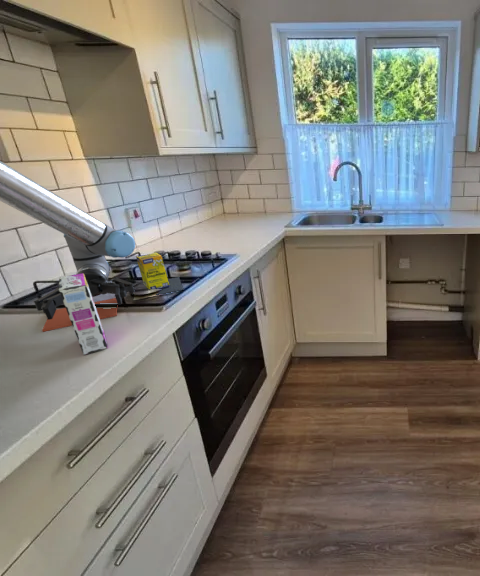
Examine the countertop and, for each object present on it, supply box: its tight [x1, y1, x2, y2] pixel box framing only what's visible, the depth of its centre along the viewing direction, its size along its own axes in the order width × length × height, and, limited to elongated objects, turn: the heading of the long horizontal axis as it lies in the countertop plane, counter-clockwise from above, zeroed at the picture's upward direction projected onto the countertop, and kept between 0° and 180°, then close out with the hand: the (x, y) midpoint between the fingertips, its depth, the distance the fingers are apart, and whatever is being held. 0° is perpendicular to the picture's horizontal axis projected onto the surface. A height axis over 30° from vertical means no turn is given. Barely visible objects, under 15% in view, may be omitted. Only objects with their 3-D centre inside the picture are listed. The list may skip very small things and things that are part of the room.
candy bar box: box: [58, 273, 109, 356], centre depth 85 cm, size 11×5×16 cm, turn 40°
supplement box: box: [135, 252, 170, 289], centre depth 118 cm, size 6×6×11 cm
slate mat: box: [156, 276, 185, 295], centre depth 120 cm, size 14×14×1 cm
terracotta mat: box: [41, 297, 118, 333], centre depth 103 cm, size 16×14×1 cm
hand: (84, 306), depth 87 cm, fingers open, 13 cm apart
